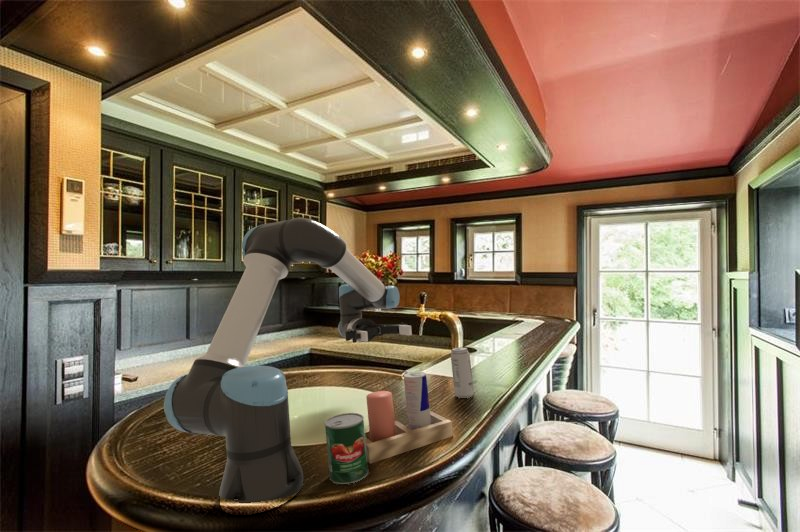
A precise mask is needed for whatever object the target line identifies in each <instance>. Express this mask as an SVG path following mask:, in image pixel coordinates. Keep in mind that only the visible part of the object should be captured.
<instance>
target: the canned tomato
mask: <svg viewBox="0 0 800 532" xmlns="http://www.w3.org/2000/svg"><path fill="white" fill-rule="evenodd" d="M364 421H365V420H364V416H363V414H360V413H356V412H349V413H348V412H347V413H345V412H344V413H341V414H336V415H333V416H331V417H329V418H327V419H326V420H325V421H324V427H325V428H324V429H325V438H326V439H325V442H326V452H327V453H326V454H327V461H328V462H327V463H328V465H327V466H328V472H329V473H328V474H329V476H330V478H329V480H330V479H331V480H332V481H333V482H335V483H339V484H348V485H350V484H349V483H353V484H356V483H359V482H361V481H362V479H363V478H364V479H366V478H367V476H368V475H369V467H368V466H369V465H368V463H369V462H368V461H367V452H366V441H365V437H366V431H365V422H364ZM364 479H363V480H364ZM360 480H361V481H360ZM358 481H359V482H358ZM333 482H332V483H333ZM355 482H356V483H355ZM335 483H334V484H335Z"/></svg>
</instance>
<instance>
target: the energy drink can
mask: <svg viewBox="0 0 800 532" xmlns="http://www.w3.org/2000/svg"><path fill="white" fill-rule="evenodd" d="M450 360H451V362H450V363H451V372H452V380H453V381H452V382H453V390H454V395H455V396H456V398H457V397H458V399H460V398H467V399H470V397H471V398H472V397H473V395H474V393H475V392H474V383H473V374H472V373H473V372H472V365H471V364H472V363H471V354H470V352H469V351H468V347H462V346H461V347H460V346H459V347H454V348H452V349H451V353H450Z"/></svg>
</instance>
